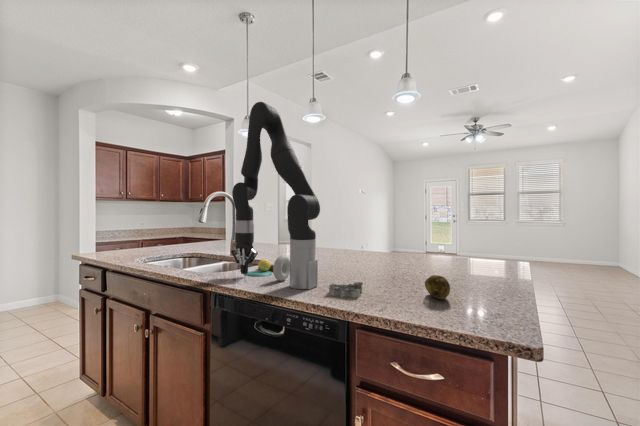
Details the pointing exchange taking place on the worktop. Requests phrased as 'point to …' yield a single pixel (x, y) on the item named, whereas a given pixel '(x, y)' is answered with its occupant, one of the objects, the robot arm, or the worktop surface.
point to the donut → (281, 268)
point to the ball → (264, 265)
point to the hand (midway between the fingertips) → (244, 273)
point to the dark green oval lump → (437, 286)
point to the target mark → (258, 273)
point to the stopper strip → (270, 268)
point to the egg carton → (346, 289)
